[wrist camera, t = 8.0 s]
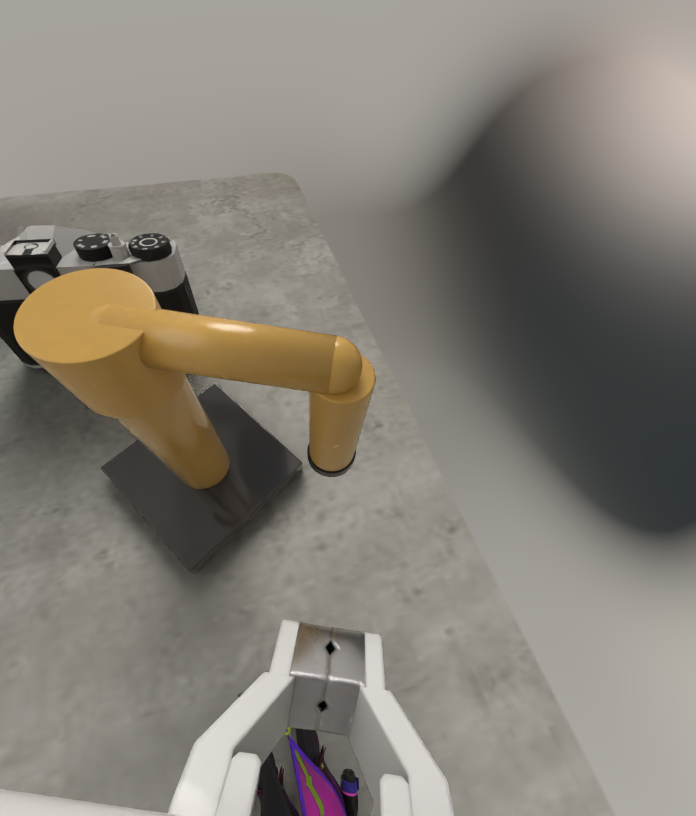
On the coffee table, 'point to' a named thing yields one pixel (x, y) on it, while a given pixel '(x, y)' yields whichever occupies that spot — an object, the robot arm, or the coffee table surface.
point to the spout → (188, 356)
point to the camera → (77, 250)
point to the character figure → (307, 782)
